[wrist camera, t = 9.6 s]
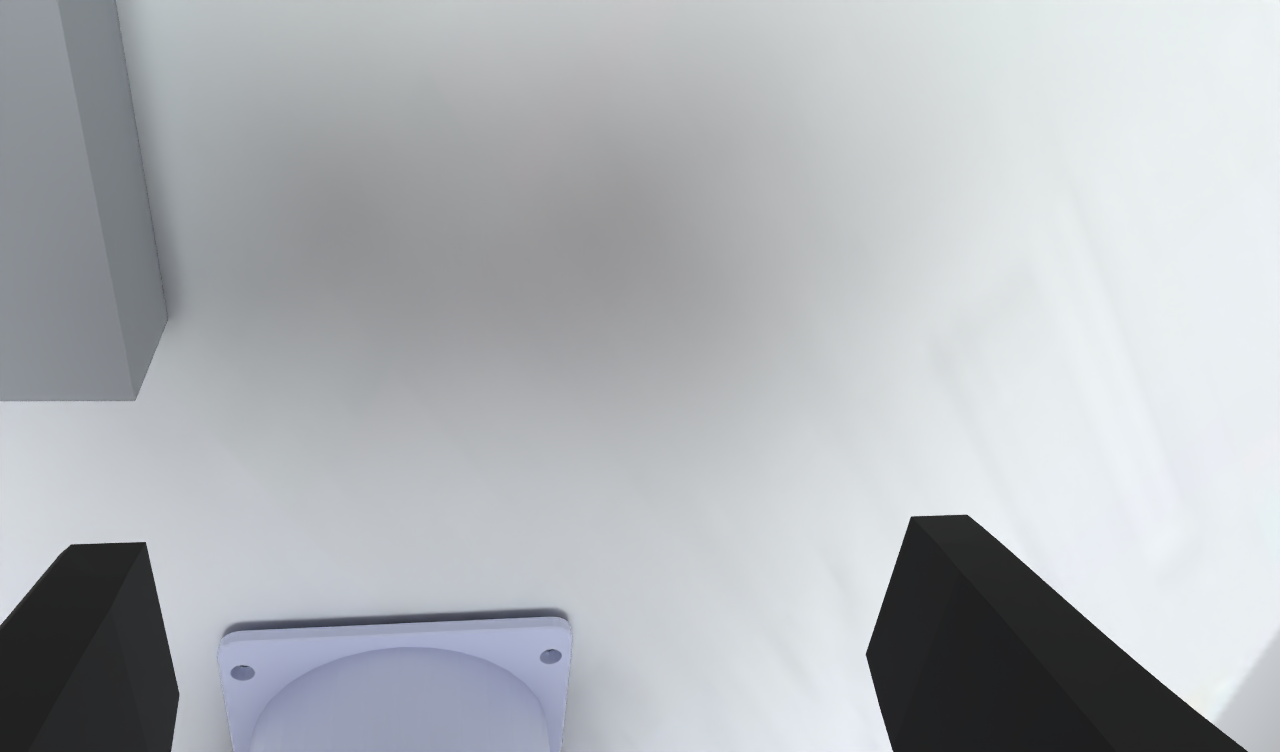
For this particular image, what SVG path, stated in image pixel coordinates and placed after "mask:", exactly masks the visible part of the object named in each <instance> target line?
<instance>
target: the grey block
mask: <svg viewBox="0 0 1280 752" xmlns="http://www.w3.org/2000/svg"><path fill="white" fill-rule="evenodd" d="M167 321H168V317H167V310H166V304H165V298H164V292H163V286H162V280H161V274H160V268H159V262H158V256H157V250H156V244H155V238H154V232H153V226H152V219H151V213H150V207H149V201H148V195H147V189H146V183H145V177H144V171H143V165H142V159H141V153H140V147H139V141H138V135H137V128H136V122H135V116H134V110H133V104H132V98H131V92H130V86H129V80H128V74H127V68H126V62H125V56H124V50H123V44H122V38H121V31H120V25H119V19H118V13H117V7H116V1H115V0H0V401H135V400H136V398H137V395H138V393H139V390H140V388H141V385H142V383H143V380H144V378H145V375H146V373H147V370H148V368H149V365H150V363H151V360H152V358H153V355H154V353H155V350H156V348H157V346H158V343H159V341H160V338H161V336H162V333H163V331H164V328H165V326H166V323H167Z"/></svg>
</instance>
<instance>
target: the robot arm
mask: <svg viewBox="0 0 1280 752" xmlns="http://www.w3.org/2000/svg"><path fill="white" fill-rule="evenodd" d="M572 642H573V638H572V631H571V626H570V624H569V623H568V622H567V620H565V619H562V618H560V617H531V618H509V619H487V620H465V621H443V622H421V623H399V624H378V625H356V626H334V627H312V628H290V629H268V630H246V631H237V632H231V633H230V634H228V635H226V636H224V637H223V638H222V640H221V641H220V644H219V649H218V655H217V660H218V666H219V672H220V677H221V683H222V689H223V695H224V701H225V706H226V712H227V718H228V724H229V729H230V735H231V741H232V747H233V752H561V749H562V740H563V730H564V720H565V710H566V700H567V691H568V681H569V671H570V661H571V652H572ZM550 649H554V650H553V651H546V650H550ZM866 657H867V661H868V664H869V668H870V672H871V676H872V680H873V683H874V687H875V691H876V695H877V698H878V702H879V706H880V709H881V713H882V716H883V720H884V723H885V726H886V730H887V733H888V736H889V740H890V743H891V747H892V750H893V752H1248V751H1246V750H1245V749H1244V748H1243V747H1241V746H1240V745H1239V744H1237V743H1236V742H1235V741H1234V740H1232V739H1231V738H1230V737H1228V736H1227V735H1226V734H1224V733H1223V732H1222V731H1221V730H1219V729H1218V728H1217V727H1216V726H1214V725H1213V724H1212V723H1211V722H1209V721H1208V720H1207V719H1205V718H1204V717H1203V716H1202V715H1200V714H1199V713H1198V712H1197V711H1195V710H1194V709H1193V708H1192V707H1190V706H1189V705H1188V704H1187V703H1186V702H1184V701H1183V700H1182V699H1181V698H1179V697H1178V696H1177V695H1176V694H1175V693H1173V692H1172V691H1171V690H1170V689H1168V688H1167V687H1166V686H1165V685H1164V684H1162V683H1161V682H1160V681H1159V680H1158V679H1156V678H1155V677H1154V676H1153V675H1152V674H1150V673H1149V672H1148V671H1147V670H1146V669H1144V668H1143V667H1142V666H1141V665H1140V664H1138V663H1137V662H1136V661H1135V660H1134V659H1133V658H1131V657H1130V656H1129V655H1128V654H1127V653H1126V652H1124V651H1123V650H1122V649H1121V648H1120V647H1119V646H1117V645H1116V644H1115V643H1114V642H1113V641H1112V640H1110V639H1109V638H1108V637H1107V636H1106V635H1105V634H1104V633H1102V632H1101V631H1100V630H1099V629H1098V628H1097V627H1096V626H1094V625H1093V624H1092V623H1091V622H1090V621H1089V620H1088V619H1086V618H1085V617H1084V616H1083V615H1082V614H1081V613H1080V612H1078V611H1077V610H1076V609H1075V608H1074V607H1073V606H1072V605H1071V604H1069V603H1068V602H1067V601H1066V600H1065V599H1064V598H1063V597H1062V596H1060V595H1059V594H1058V593H1057V592H1056V591H1055V590H1054V589H1052V588H1051V587H1050V586H1049V585H1048V584H1047V583H1046V582H1045V581H1043V580H1042V579H1041V578H1040V577H1039V576H1038V575H1037V574H1036V573H1034V572H1033V571H1032V570H1031V569H1030V568H1029V567H1028V566H1027V565H1025V564H1024V563H1023V562H1022V561H1021V560H1020V559H1019V558H1018V557H1016V556H1015V555H1014V554H1013V553H1012V552H1011V551H1010V550H1008V549H1007V548H1006V547H1005V546H1004V545H1003V544H1002V543H1000V542H999V541H998V540H997V539H996V538H995V537H993V536H992V535H991V534H990V533H989V532H988V531H986V530H985V529H984V528H983V527H982V526H980V525H979V524H978V523H977V522H976V521H974V520H973V519H972V518H971V517H969V516H968V515H944V516H914V517H911V518H910V521H909V524H908V528H907V531H906V534H905V537H904V540H903V543H902V546H901V549H900V552H899V555H898V558H897V561H896V564H895V567H894V570H893V573H892V576H891V579H890V582H889V585H888V588H887V591H886V594H885V597H884V600H883V603H882V607H881V610H880V613H879V616H878V619H877V622H876V625H875V628H874V631H873V634H872V637H871V640H870V643H869V646H868V649H867V652H866ZM240 665H245V666H249V667H240ZM178 701H179V690H178V686H177V681H176V677H175V672H174V668H173V663H172V659H171V654H170V650H169V645H168V641H167V636H166V631H165V627H164V622H163V618H162V613H161V609H160V604H159V600H158V595H157V591H156V586H155V582H154V577H153V573H152V568H151V564H150V559H149V555H148V550H147V546H146V542H134V543H104V544H74V545H70V546H69V547H68V548H67V549H66V550H64V551H63V552H62V553H61V554H60V555H59V556H58V557H57V559H56V560H55V561H54V562H53V563H52V564H51V566H50V567H49V568H48V569H47V570H46V572H45V573H44V574H43V575H42V576H41V578H40V579H39V580H38V581H37V582H36V584H35V585H34V586H33V587H32V588H31V590H30V591H29V592H28V593H27V594H26V596H25V597H24V598H23V599H22V600H21V602H20V603H19V604H18V605H17V606H16V608H15V609H14V610H13V611H12V612H11V614H10V615H9V616H8V617H7V618H6V620H5V621H4V622H3V623H2V624H1V625H0V752H171V748H172V741H173V734H174V728H175V721H176V714H177V708H178Z"/></svg>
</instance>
